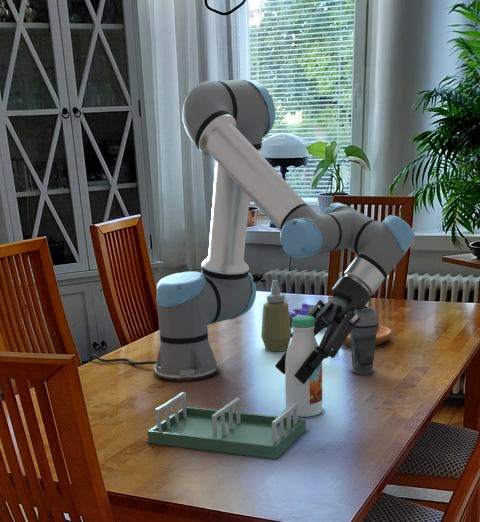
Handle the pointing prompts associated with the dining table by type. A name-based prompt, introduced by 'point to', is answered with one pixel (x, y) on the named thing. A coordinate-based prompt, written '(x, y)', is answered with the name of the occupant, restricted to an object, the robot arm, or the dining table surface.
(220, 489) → the dining table surface
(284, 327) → the squeeze bottle
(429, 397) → the dining table surface
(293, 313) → the toy race car
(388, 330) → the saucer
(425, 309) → the dining table surface
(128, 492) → the dining table surface
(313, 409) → the milk bottle
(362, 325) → the beverage cup
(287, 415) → the drying rack
